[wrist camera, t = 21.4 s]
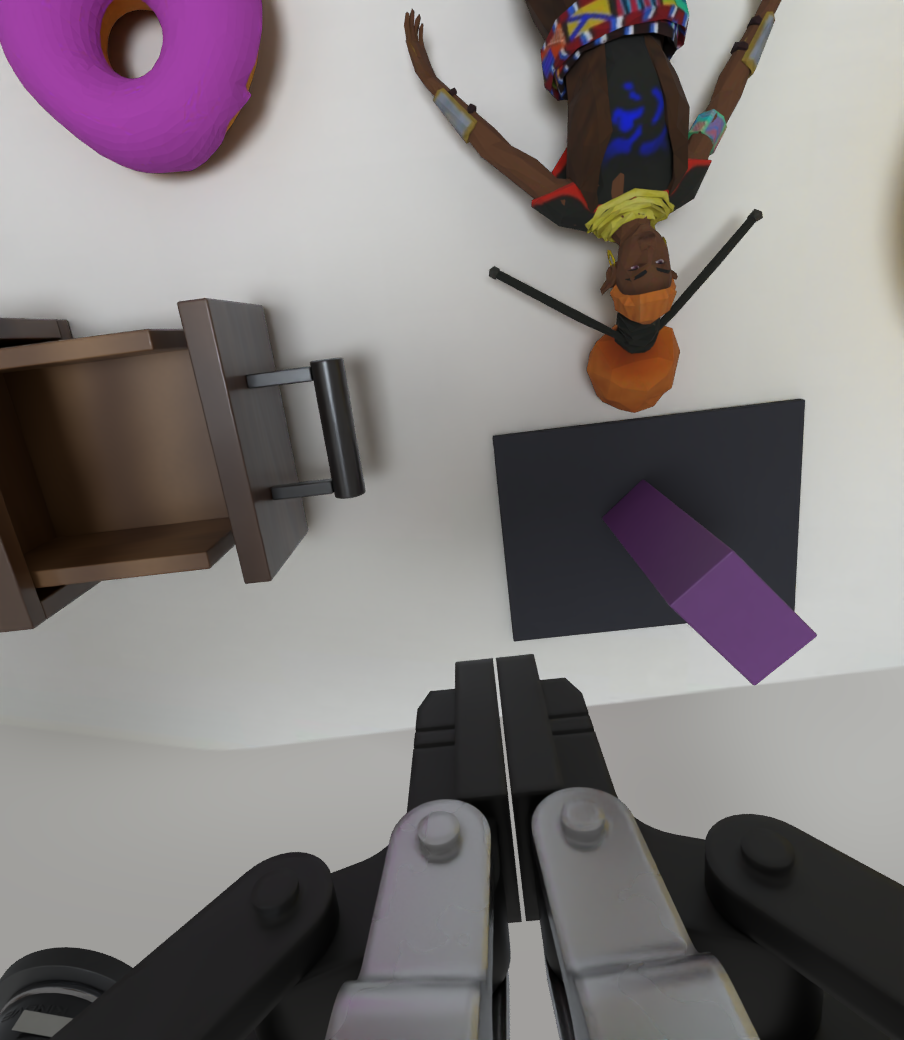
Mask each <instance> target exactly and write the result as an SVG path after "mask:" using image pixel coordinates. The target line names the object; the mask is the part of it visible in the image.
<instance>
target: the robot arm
mask: <svg viewBox="0 0 904 1040" xmlns="http://www.w3.org/2000/svg"><path fill="white" fill-rule="evenodd" d="M496 662H497V671H498V680H499V689H500V698H501V707H502V716H503V725H504V734H505V742H506V751H507V760H508V769H509V778H510V786H511V795H512V804H513V812H514V821H515V829H516V838H517V847H518V855H519V864H520V873H521V881H522V890H523V898H524V906H525V916H526V921H532V920H540V925H541V932H542V939H543V946H544V955H545V965H546V973H547V981H548V986H549V991H550V996H551V1000H552V1005H553V1009H554V1014H555V1019H556V1024H557V1028H558V1033H559V1038H560V1040H904V886H903V885H901V884H899V883H897V882H896V881H894V880H892V879H890V878H888V877H886V876H884V875H883V874H881V873H879V872H877V871H875V870H873V869H872V868H870V867H868V866H866V865H864V864H862V863H860V862H859V861H857V860H855V859H853V858H851V857H849V856H848V855H846V854H844V853H842V852H840V851H838V850H836V849H835V848H833V847H831V846H829V845H827V844H825V843H824V842H822V841H820V840H818V839H816V838H814V837H812V836H811V835H809V834H807V833H805V832H803V831H801V830H800V829H798V828H796V827H794V826H792V825H789V824H788V823H786V822H783V821H781V820H778V819H775V818H772V817H767V816H763V815H755V814H741V815H733V816H730V817H727V818H724V819H722V820H720V821H719V822H717V823H716V824H715V825H714V826H712V828H711V829H710V830H709V832H708V834H707V836H706V840H704V839H698V838H692V837H686V836H681V835H675V834H671V833H667V832H663V831H660V830H657V829H654V828H652V827H650V826H648V825H646V824H644V823H643V822H641V821H639V820H638V819H636V818H635V817H634V816H633V815H632V813H631V811H630V810H629V809H628V808H627V806H626V805H625V804H624V803H623V802H621V801H620V800H619V799H618V797H617V795H616V792H615V790H614V786H613V784H612V781H611V778H610V775H609V772H608V769H607V766H606V763H605V760H604V757H603V754H602V752H601V748H600V745H599V742H598V740H597V737H596V733H595V732H594V728H593V725H592V722H591V719H590V716H589V715H588V710H587V707H586V704H585V701H584V698H583V695H582V693H581V692H580V691H579V690H578V689H577V688H576V687H575V686H574V685H572V684H571V683H570V682H569V681H568V680H567V679H566V678H557V679H547V680H540V679H539V675H538V671H537V666H536V662H535V658H534V654H529V655H519V656H509V657H499V658H496ZM513 922H522V921H521V911H520V902H519V894H518V884H517V875H516V865H515V856H514V847H513V838H512V828H511V820H510V810H509V801H508V791H507V782H506V773H505V764H504V755H503V745H502V736H501V728H500V719H499V710H498V701H497V692H496V683H495V674H494V666H493V658H491V659H481V660H471V661H461V662H456V663H455V689H449V690H438V691H430V692H429V694H428V695H427V697H426V698H425V699H424V701H423V702H422V704H421V705H420V706H419V708H418V710H417V719H416V733H415V739H414V750H413V758H412V768H411V778H410V787H409V797H408V807H407V813H406V814H405V815H404V816H403V817H402V818H401V819H400V821H399V822H398V823H397V824H396V826H395V828H394V830H393V831H392V834H391V837H390V841H389V845H388V846H387V847H386V848H384V849H383V850H382V851H380V852H379V853H377V854H376V855H374V856H373V857H371V858H369V859H366V860H364V861H362V862H359V863H357V864H354V865H351V866H349V867H346V868H344V869H341V870H338V871H336V872H333V873H330V870H329V868H328V867H327V865H326V864H325V863H324V862H323V861H322V860H321V859H320V858H318V857H316V856H314V855H311V854H308V853H301V852H290V853H285V854H280V855H277V856H274V857H271V858H269V859H267V860H265V861H262V862H261V863H259V864H257V865H256V866H254V867H253V868H252V869H250V870H249V871H248V872H246V873H245V874H244V875H243V876H241V877H240V878H239V879H238V880H237V881H236V882H234V883H233V884H232V885H231V886H230V887H228V888H227V889H226V890H225V891H224V892H223V893H221V894H220V895H219V896H218V897H217V898H216V899H214V900H213V901H212V902H211V903H210V904H208V905H207V906H206V907H205V908H204V909H202V910H201V911H200V912H199V913H198V914H197V915H195V916H194V917H193V918H192V919H191V920H190V921H188V922H187V923H186V924H185V925H184V926H182V927H181V928H180V929H179V930H178V931H176V932H175V933H174V934H173V935H172V936H170V937H169V938H168V939H167V940H166V941H165V942H164V943H162V944H161V945H160V946H159V947H157V948H156V949H155V950H154V951H153V952H152V953H150V954H149V955H148V956H147V957H146V958H144V959H143V960H142V961H141V962H140V963H139V964H137V965H136V966H135V967H134V968H133V969H131V970H130V971H129V972H128V973H127V974H126V975H124V976H123V977H122V978H121V979H120V980H118V981H117V982H116V983H115V984H114V985H113V986H111V987H110V988H109V989H108V990H107V991H105V992H103V991H101V990H99V989H97V988H94V987H91V986H89V985H85V984H82V983H78V982H72V981H64V980H49V981H42V982H37V983H33V984H30V985H28V986H25V987H24V988H22V989H20V990H18V991H17V992H16V993H15V994H13V995H12V996H11V998H10V999H9V1000H8V1002H7V1003H6V1005H5V1006H4V1008H3V1009H2V1010H1V1012H0V1040H510V1014H509V1013H510V1008H509V1002H510V1001H509V975H508V968H509V964H510V942H509V929H508V923H513Z"/></svg>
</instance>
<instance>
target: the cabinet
mask: <svg viewBox="0 0 904 1040" xmlns="http://www.w3.org/2000/svg"><path fill="white" fill-rule="evenodd" d="M67 339H72V336H71V332H70V329H69V325H68V322H67V320H58V319H25V318H0V348H6V347H14V346H22V345H29V344H37V343H45V342H52V341H60V340H67ZM99 582H101V581H95V582H86V583H77V584H68V585H59V586H50V587H41V588H35V587H34V584H33V581H32V578H31V575H30V572H29V570H28V567H27V564H26V561H25V558H24V556H23V553H22V550H21V547H20V544H19V541H18V539H17V536H16V533H15V530H14V527H13V525H12V522H11V519H10V516H9V513H8V511H7V508H6V505H5V502H4V499H3V496H2V494H1V491H0V632H9V631H18V630H27V629H34V628H35V627H37V626H38V625H39V624H41V623H42V622H44V621H45V620H46V619H48V618H49V617H51V616H52V615H54V614H55V613H57V612H58V611H59V610H61V609H62V608H64V607H65V606H67V605H68V604H69V603H71V602H72V601H74V600H75V599H76V598H78V597H79V596H81V595H82V594H84V593H85V592H86V591H88V590H89V589H91V588H92V587H94V586H95V585H96V584H98V583H99Z"/></svg>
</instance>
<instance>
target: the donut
mask: <svg viewBox="0 0 904 1040" xmlns="http://www.w3.org/2000/svg"><path fill="white" fill-rule="evenodd" d="M134 10H150V11H154V12H155V14H156V16H157V17H158V20H159V22H160V25H161V27H162V32H163V45H162V49H161V53H160V56H159V58H158V60H157V62H156V63H155V65H154V67H153V68H152V70H150V71H149V72H148V73H147V74H145V75H144V76H142V77H140V78H133V79H130V78H125V77H122V76H120V75H119V74H118V73H116V72H115V71H114V70H113V68H112V67H111V65H110V62H109V58H108V52H107V49H108V37H109V34H110V31H111V28H112V26H113V25H114V23H115V22H116V21H117V19H119V18H120V17H121V16H123V15H124V14H125V13H127V12H131V11H134ZM261 33H262V0H0V43H1V46H2V48H3V51H4V53H5V56H6V58H7V60H8V62H9V63H10V65H11V67H12V69H13V71H14V72H15V74H16V76H17V77H18V79H19V80H20V82H21V83H22V84H23V86H24V87H25V88H26V90H27V91H28V92H29V93H30V94H31V95H32V96H33V97H34V99H35V100H36V101H37V102H38V103H39V104H40V105H41V106H42V107H43V108H44V109H45V110H46V111H47V112H48V113H49V114H50V115H51V116H52V117H53V118H54V119H56V120H57V121H58V122H59V123H60V124H61V125H63V126H64V127H65V128H66V129H67V130H69V131H70V132H71V133H72V134H73V135H75V136H76V137H77V138H78V139H79V140H81V141H82V142H84V143H85V144H86V145H88V146H89V147H90V148H92V149H93V150H95V151H96V152H97V153H99V154H100V155H102V156H104V157H106V158H108V159H110V160H112V161H114V162H116V163H118V164H120V165H122V166H125V167H127V168H130V169H133V170H136V171H141V172H146V173H167V172H178V171H192V170H194V169H195V168H197V167H199V166H200V165H202V164H203V163H205V162H206V161H207V160H208V159H209V158H210V156H211V155H212V154H213V153H214V152H215V151H216V150H217V149H218V147H219V146H220V145H221V143H222V142H223V139H224V136H225V133H226V132H227V131H228V129H229V128H230V127H231V125H232V124H233V122H234V120H235V119H236V117H237V116H238V114H239V112H240V110H241V108H242V107H243V106H244V105H245V104H246V103H247V101H248V100H249V98H250V97H251V93H249V92H248V91H249V88H250V85H251V82H252V79H253V75H254V72H255V68H256V65H257V60H258V52H259V45H260V39H261Z"/></svg>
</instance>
